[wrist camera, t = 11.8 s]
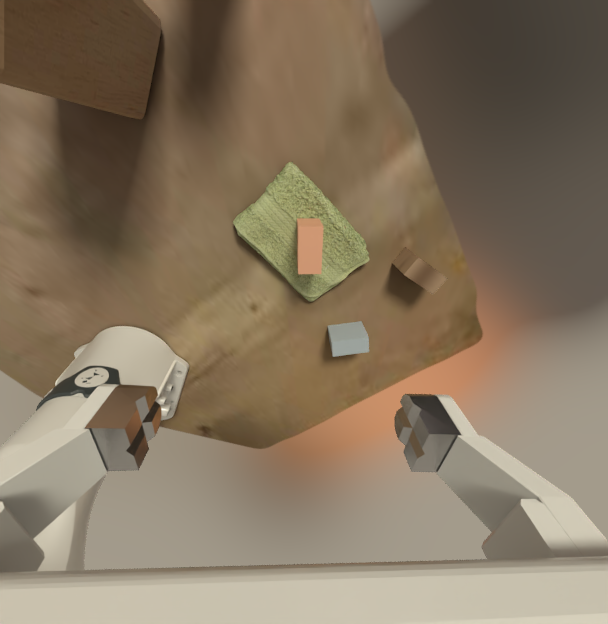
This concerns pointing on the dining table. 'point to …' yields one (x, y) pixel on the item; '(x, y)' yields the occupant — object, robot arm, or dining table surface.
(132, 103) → the block
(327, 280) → the washcloth
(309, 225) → the brick terracotta
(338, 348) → the brick slate
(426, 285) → the brick walnut
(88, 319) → the dining table surface
